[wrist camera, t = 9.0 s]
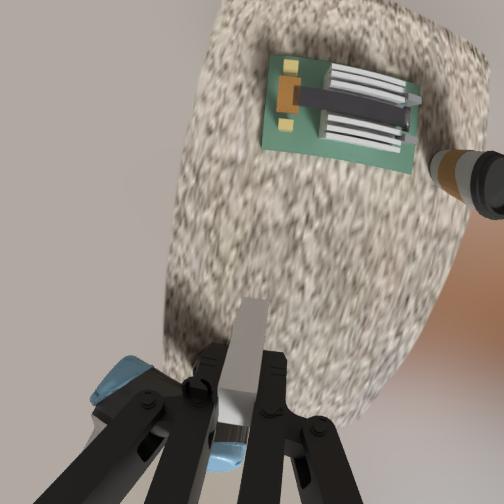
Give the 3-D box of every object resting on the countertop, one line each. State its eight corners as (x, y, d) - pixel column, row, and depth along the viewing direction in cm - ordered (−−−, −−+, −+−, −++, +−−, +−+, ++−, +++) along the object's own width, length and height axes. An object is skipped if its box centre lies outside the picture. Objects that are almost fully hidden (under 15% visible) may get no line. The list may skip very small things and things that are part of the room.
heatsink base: (416, 86, 29) (446, 77, 21) (407, 173, 35) (436, 184, 27) (270, 57, 31) (265, 34, 23) (262, 148, 37) (254, 151, 28)
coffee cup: (469, 179, 33) (527, 202, 20) (436, 204, 36) (491, 237, 22) (449, 134, 31) (511, 141, 18) (414, 159, 34) (471, 173, 20)
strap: (409, 104, 26) (412, 103, 25) (406, 137, 28) (409, 137, 27) (279, 77, 26) (279, 75, 26) (276, 112, 28) (276, 111, 27)
